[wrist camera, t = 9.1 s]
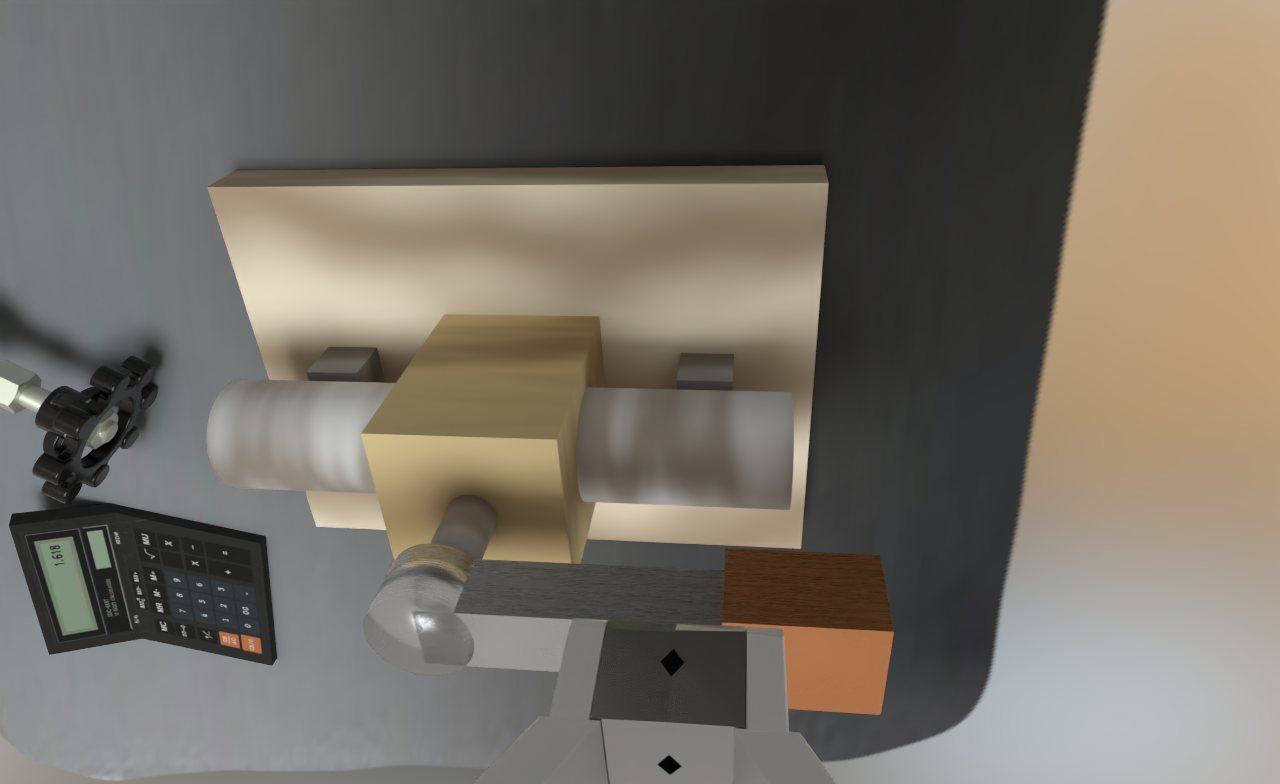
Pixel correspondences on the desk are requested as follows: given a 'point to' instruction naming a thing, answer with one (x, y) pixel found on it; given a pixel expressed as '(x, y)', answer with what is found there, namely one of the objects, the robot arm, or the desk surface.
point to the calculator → (145, 581)
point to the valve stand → (529, 352)
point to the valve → (80, 421)
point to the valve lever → (640, 613)
